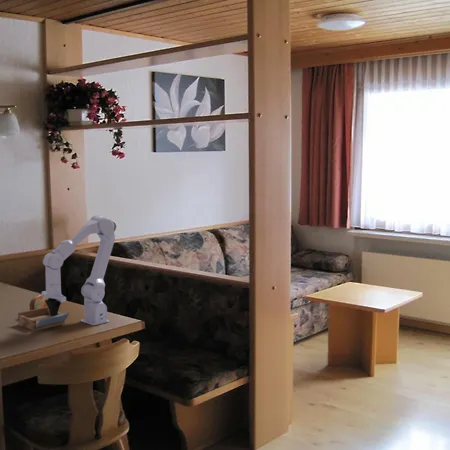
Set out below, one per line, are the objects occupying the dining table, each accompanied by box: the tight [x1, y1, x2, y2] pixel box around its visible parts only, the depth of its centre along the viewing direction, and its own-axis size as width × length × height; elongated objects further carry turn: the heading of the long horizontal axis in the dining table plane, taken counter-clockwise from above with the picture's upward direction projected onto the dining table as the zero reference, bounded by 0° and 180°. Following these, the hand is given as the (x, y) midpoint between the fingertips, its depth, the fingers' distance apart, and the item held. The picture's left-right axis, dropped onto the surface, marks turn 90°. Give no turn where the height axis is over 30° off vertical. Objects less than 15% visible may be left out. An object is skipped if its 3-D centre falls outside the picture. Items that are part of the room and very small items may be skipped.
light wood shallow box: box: [17, 307, 66, 332], centre depth 255 cm, size 12×14×5 cm
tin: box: [29, 293, 48, 311], centre depth 270 cm, size 15×3×8 cm, turn 168°
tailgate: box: [36, 312, 70, 327], centre depth 250 cm, size 1×13×5 cm
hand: (54, 316), depth 249 cm, fingers closed, pressing on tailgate
